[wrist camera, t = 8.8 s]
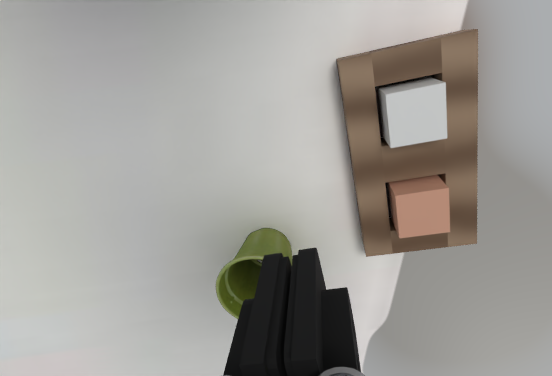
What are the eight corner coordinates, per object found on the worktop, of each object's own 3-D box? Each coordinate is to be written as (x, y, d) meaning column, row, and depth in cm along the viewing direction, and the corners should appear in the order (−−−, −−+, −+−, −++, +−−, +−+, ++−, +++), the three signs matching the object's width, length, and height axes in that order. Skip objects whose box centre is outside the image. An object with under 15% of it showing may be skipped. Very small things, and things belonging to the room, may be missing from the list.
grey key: (377, 88, 34) (385, 94, 30) (431, 77, 33) (445, 82, 29) (383, 136, 35) (390, 148, 32) (433, 127, 35) (447, 138, 31)
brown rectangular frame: (336, 58, 34) (338, 60, 31) (464, 29, 32) (477, 29, 29) (362, 242, 42) (366, 256, 40) (465, 229, 40) (476, 243, 37)
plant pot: (314, 229, 42) (314, 272, 35) (291, 285, 46) (286, 335, 38) (243, 206, 42) (226, 245, 34) (226, 264, 46) (207, 311, 38)
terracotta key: (387, 180, 37) (395, 195, 34) (435, 172, 36) (448, 187, 33) (391, 219, 39) (399, 238, 36) (437, 213, 38) (450, 232, 35)
